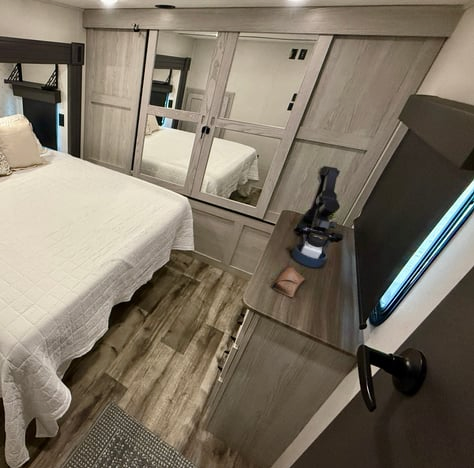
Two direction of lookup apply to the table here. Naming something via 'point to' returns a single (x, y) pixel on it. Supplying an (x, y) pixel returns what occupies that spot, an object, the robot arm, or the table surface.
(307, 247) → the medicine bottle
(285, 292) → the sunglasses case
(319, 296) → the table surface
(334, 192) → the robot arm
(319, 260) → the blue round bowl
